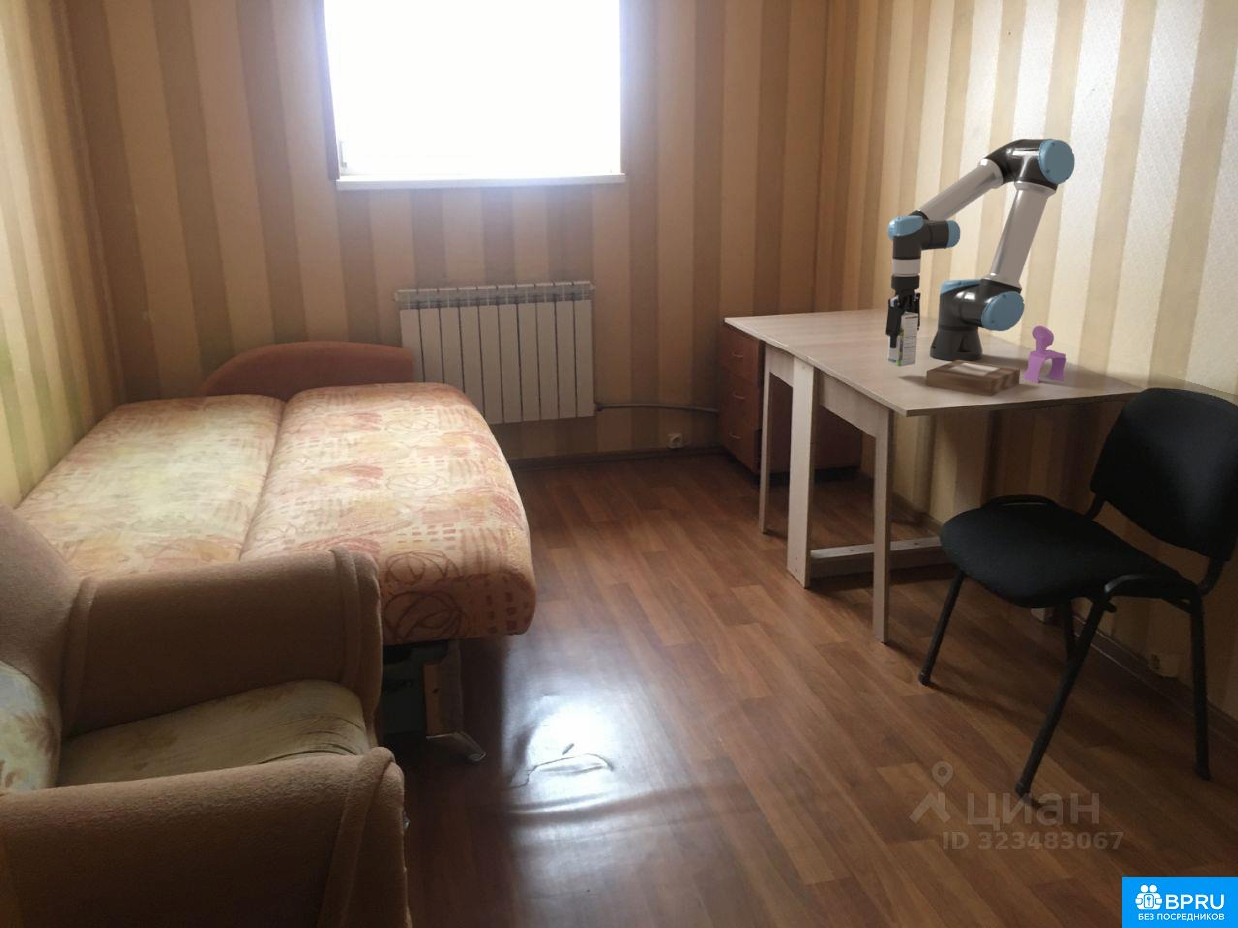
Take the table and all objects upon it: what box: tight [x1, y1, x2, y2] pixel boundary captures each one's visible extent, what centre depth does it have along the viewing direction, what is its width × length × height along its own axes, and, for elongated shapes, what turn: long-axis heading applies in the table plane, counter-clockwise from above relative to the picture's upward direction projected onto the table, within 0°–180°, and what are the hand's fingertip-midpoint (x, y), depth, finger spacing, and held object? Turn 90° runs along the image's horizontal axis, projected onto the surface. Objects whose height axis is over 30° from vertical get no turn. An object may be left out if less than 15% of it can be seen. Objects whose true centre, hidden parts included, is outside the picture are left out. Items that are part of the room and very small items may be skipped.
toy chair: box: [1022, 325, 1067, 384], centre depth 277 cm, size 8×9×15 cm
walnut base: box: [925, 360, 1021, 397], centre depth 274 cm, size 18×18×4 cm
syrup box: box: [886, 312, 918, 368], centre depth 282 cm, size 6×6×14 cm
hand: (901, 356), depth 284 cm, fingers closed on syrup box, 7 cm apart
